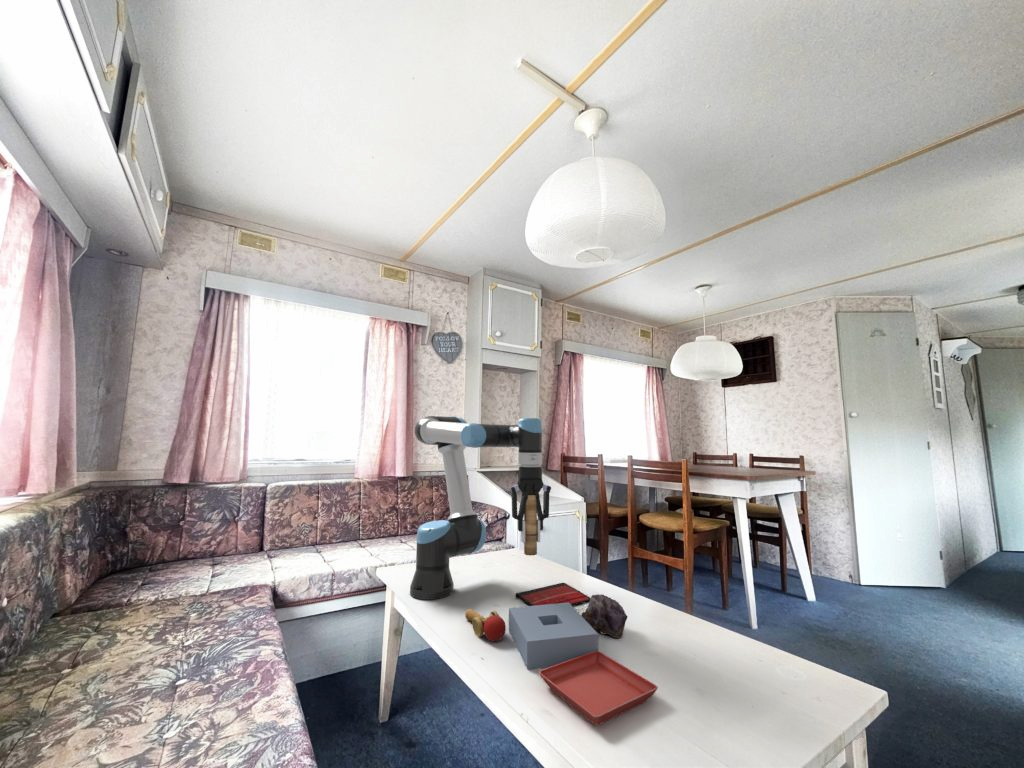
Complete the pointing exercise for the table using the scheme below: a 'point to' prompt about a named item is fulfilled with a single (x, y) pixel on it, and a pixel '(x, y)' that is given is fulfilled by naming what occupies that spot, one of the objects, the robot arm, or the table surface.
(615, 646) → the table surface
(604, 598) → the rock
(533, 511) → the peg
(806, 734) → the table surface
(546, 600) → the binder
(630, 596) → the table surface
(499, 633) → the kendama
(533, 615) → the board
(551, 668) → the plant saucer
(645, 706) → the table surface
